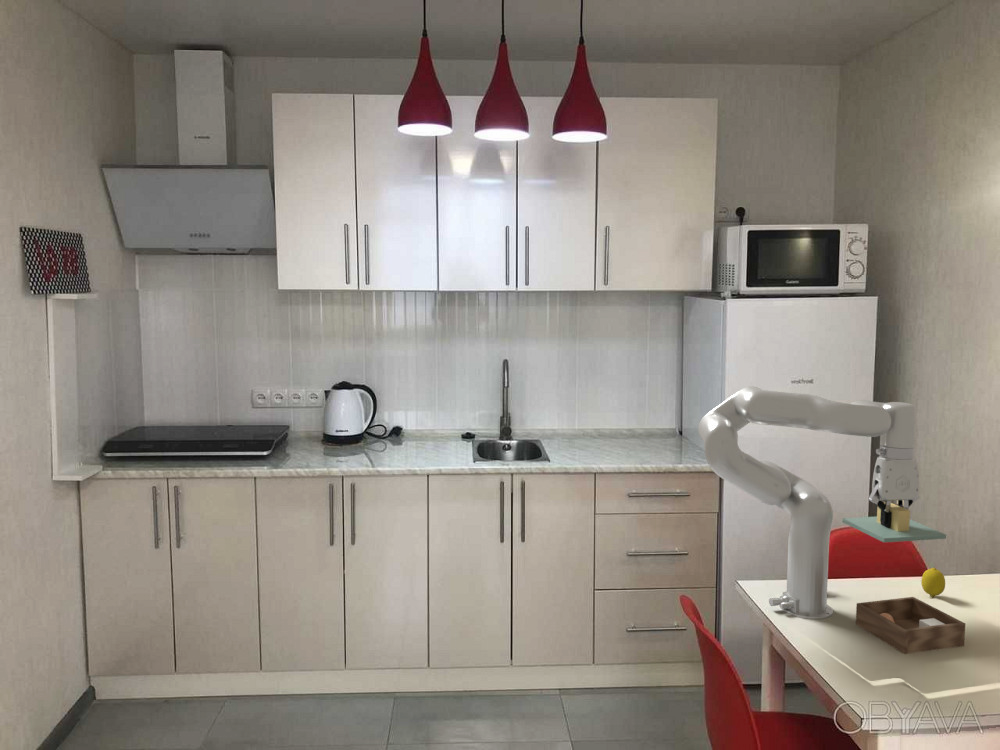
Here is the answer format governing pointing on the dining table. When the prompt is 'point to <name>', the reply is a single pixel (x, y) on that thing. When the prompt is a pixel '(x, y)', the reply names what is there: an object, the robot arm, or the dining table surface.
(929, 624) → the block
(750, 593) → the dining table surface
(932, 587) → the lemon
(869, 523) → the lid
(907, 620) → the box
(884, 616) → the ball
